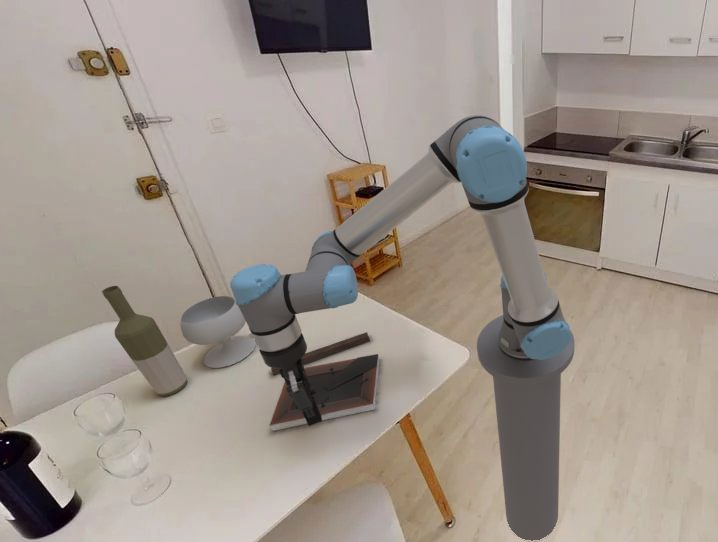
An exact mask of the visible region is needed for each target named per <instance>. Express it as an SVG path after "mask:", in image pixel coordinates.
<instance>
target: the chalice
mask: <svg viewBox="0 0 718 542" xmlns="http://www.w3.org/2000/svg"><path fill="white" fill-rule="evenodd" d="M235 301H236V300H235V298H234V297H232V296H228V295H221V296H213V297H210V298H205V299H204V300H201V301H198V302H197V303H195V304H193V305H191V306H190V307H189V308H187V309H186V310H185V311H184V312H183V313H182V315H181V318H180V322H179V323H180V330H181V331H180V332H181V334H182V337H183V338H184V339H185V340H186V341H187V342H189V343H191V344H192V345H193V344H194V345H198V346H208V345H214V344H216V345H215V346H213V347H212V348H211V349H210V350H209V351H208V352H207V353H206V354H205V356H204V359H203V363H204V365H205V366H206V367H208V368H213V369H219V368H225V367H228V366H231V365H234V364H236V363H238V362H240V361H242V360H244V359H245V358H246V357H248V356H249V355H250V354H251V353H252V352H253V351H254V349H255V348H256V346H257V344H256V342H255V338H253V339H250V338H249V336H247V335H246V336H245V335H243V336H242V335H241V336H235V335H236V334H238V333H239V332H240V331H241V330H242V329H243V328H244V326H245V324H247V323H246V321H245V319H244V317H243V315H242V313H241V311H240V309H239V307H238V305H236V302H235ZM233 336H234V337H233Z"/></svg>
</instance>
